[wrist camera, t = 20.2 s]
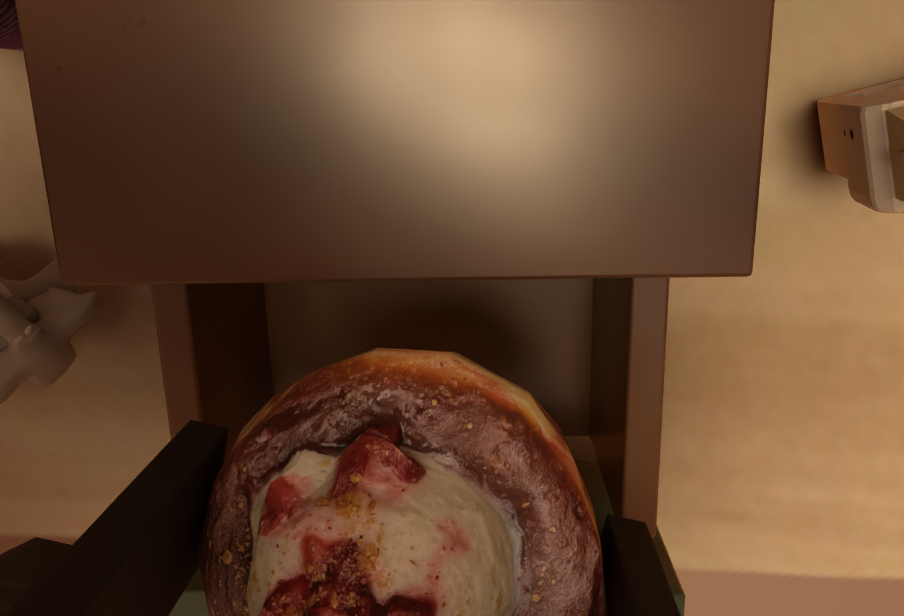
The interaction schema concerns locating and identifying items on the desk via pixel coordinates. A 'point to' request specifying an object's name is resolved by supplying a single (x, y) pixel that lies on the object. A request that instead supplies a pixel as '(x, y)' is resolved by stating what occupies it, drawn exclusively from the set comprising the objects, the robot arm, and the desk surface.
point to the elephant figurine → (38, 326)
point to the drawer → (438, 329)
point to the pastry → (401, 499)
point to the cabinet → (398, 138)
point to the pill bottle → (9, 26)
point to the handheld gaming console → (867, 143)
